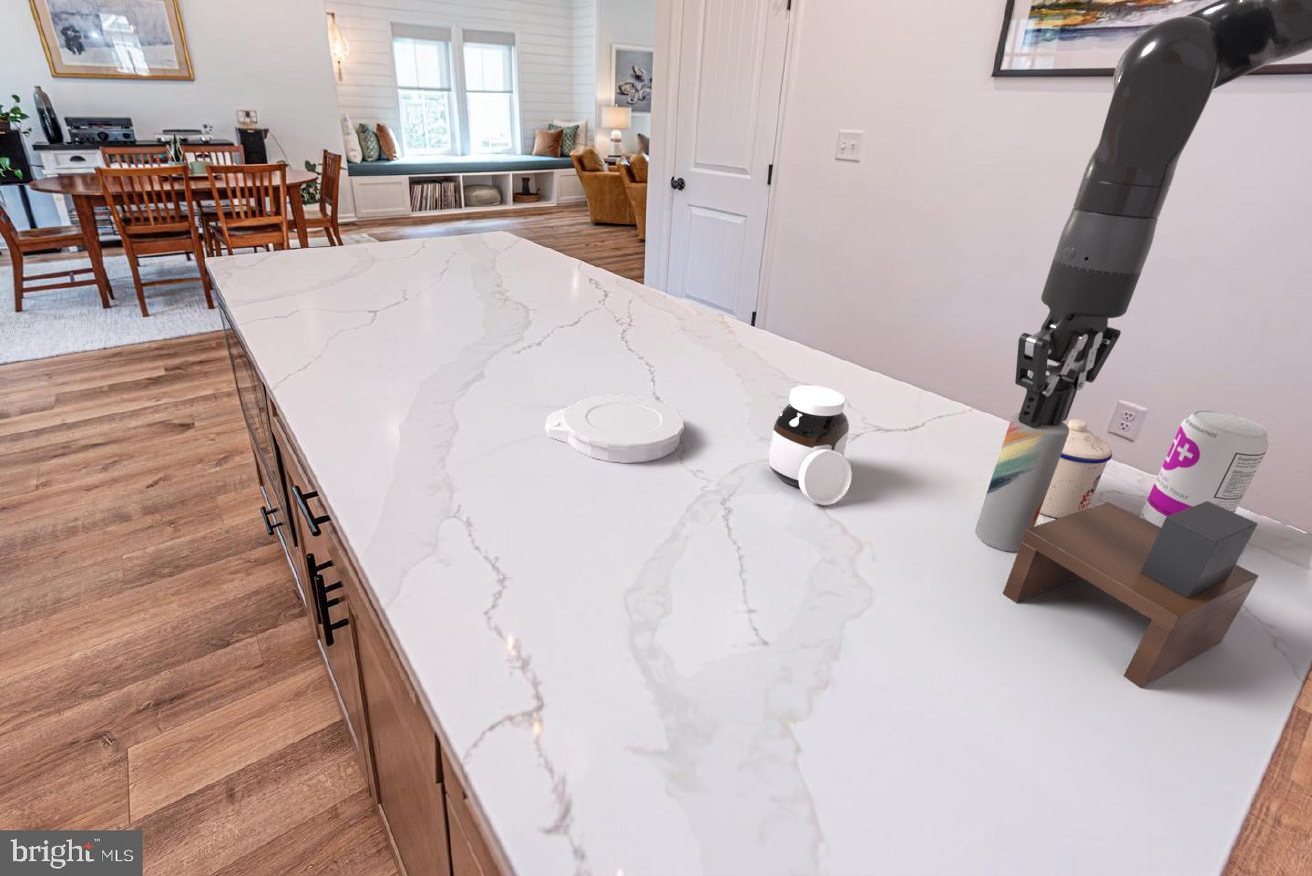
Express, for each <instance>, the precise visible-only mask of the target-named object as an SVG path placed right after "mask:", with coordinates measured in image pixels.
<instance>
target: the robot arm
mask: <svg viewBox="0 0 1312 876" xmlns="http://www.w3.org/2000/svg"><path fill="white" fill-rule="evenodd" d="M1310 51H1312V0H1217V1H1214V2H1212V3H1211V4H1209V5H1206V6H1204V7H1202V8H1200V9H1198V10H1195V11H1193V12H1191V13H1189V14H1187V15H1185V16H1184V15H1183V16H1177V17H1171V18H1169V19H1166V20H1163V21H1161V22H1159V23H1157V24H1154V25H1153V26H1151V27H1150V28H1149V29H1147V30H1146V31H1144V32H1143V33H1141V34H1140V35H1139V36H1138V37H1137V38H1136V39H1135V40H1134V41H1133V42H1132V43H1131V44H1130V45H1129V46H1128V48H1127V49H1125V51H1124V52H1123V53H1122V55H1121V57H1120V59H1119V60H1118V62H1117V64H1116V67H1115V70H1114V73H1113V78H1112V87H1113V89H1112V90H1113V94H1112V97H1111V101H1110V104H1109V107H1108V111H1107V114H1106V117H1105V120H1104V124H1103V127H1102V132H1101V135H1100V138H1099V141H1098V144H1097V146H1096V148H1095V149H1094V151H1093V152H1092V153H1091V156H1090V158H1089V160H1088V162H1087V163H1086V164H1087V165H1086V166H1085V170H1084V172H1083V174H1082V179H1081V181H1080V184H1079V187H1078V190H1077V193H1076V197H1075V200H1074V203H1073V206H1072V207H1073V208H1072V209H1071V210H1070V211H1071V212H1070V214H1069V216H1068V218H1067V220H1066V222H1065V224H1064V227H1063V229H1062V231H1061V234H1060V237H1059V240H1058V243H1057V246H1056V249H1055V253H1054V256H1053V259H1052V262H1051V264H1050V268H1049V271H1048V275H1047V278H1046V281H1045V284H1044V286H1043V290H1042V293H1041V297H1040V299H1041V302H1042V303H1043V304H1044V305H1045V306H1047V307H1048V309H1049V312H1048V314H1047V316H1046V318H1045V319H1044V321H1043V323H1042V324H1041V327H1040V331H1038V332H1036V333H1035V334H1030V333H1028V332H1023V333H1022V334H1021V335H1020V336H1019V338H1018V345H1017V356H1016V368H1015V369H1016V370H1015V381H1014V383H1015V385H1017V386H1020V387H1022V388H1024V389H1026V393H1025V397H1024V399H1023V402H1022V406H1021V409H1020V410H1019V413H1020V414H1019V418H1018V419H1019V422H1020V423H1022V424H1025V425H1027V426H1029V427H1031V428H1036V427H1039V426H1041V424H1042V421H1043V418H1044V415H1045V412H1046V409H1047V407H1048V404H1049V401H1050V398H1051V396H1050V395H1051V394H1052V392H1053V390H1054V388H1055V386H1056V384H1057V382H1058V380H1059V378H1063V379H1065V380H1067V381H1068V382H1069V383H1070V384H1073V385H1074V386H1075V389H1074V392H1073V395H1072V397H1071V400H1070V403H1069V406H1068V409H1067V412H1066V415H1065V418H1064V420H1063V422H1065V421H1067V419H1068V417H1069V414H1070V412H1071V408H1072V406H1073V403H1074V400H1075V397H1076V394H1077V391H1081V390H1082V389H1083V388H1084V386H1085V383H1086V382H1087V383H1090V384H1091V383H1093V382H1094V381H1095V380H1096V379H1097V377H1098V376H1099V374H1100V371H1101V370H1102V368H1103V367H1104V365H1105V363H1106V361H1107V360H1108V358H1109V356H1110V354H1111V353H1112V351H1113V348H1114V347H1115V345H1116V344H1117V341H1118V340H1119V338H1120V336H1121V334H1122V331H1121V330H1120V329H1118V328H1114V327H1111V326H1108V324H1109V319H1115V318H1121V317H1122V316H1124V315H1125V314H1126V313H1127V311H1128V308H1129V305H1130V303H1131V302H1132V301H1131V300H1132V299H1133V296H1134V293H1135V291H1136V288H1137V284H1138V282H1139V280H1140V277H1141V274H1142V272H1143V269H1144V266H1145V263H1146V261H1147V258H1148V257H1149V253H1150V250H1151V249H1152V245H1153V241H1154V237H1155V233H1156V228H1157V224H1158V221H1159V217H1160V215H1161V213H1162V209H1163V207H1164V205H1165V201H1166V199H1167V196H1168V194H1169V190H1170V187H1171V186H1172V183H1173V180H1174V176H1175V173H1176V169H1177V166H1178V163H1179V160H1180V158H1181V155H1182V153H1183V151H1184V149H1185V147H1186V146H1187V144H1188V142H1189V140H1190V138H1191V136H1192V134H1193V132H1194V130H1195V128H1196V126H1197V124H1198V122H1199V120H1200V119H1201V116H1202V114H1203V112H1204V110H1205V108H1206V106H1207V103H1208V101H1209V99H1210V97H1211V95H1212V92H1213V90H1215V89H1218V88H1219V87H1222V86H1224V85H1226V84H1228V83H1230V82H1233V81H1234V80H1236V79H1238V78H1241V77H1243V76H1245V75H1247V74H1249V73H1251V72H1253V71H1255V70H1257V69H1260V68H1263V67H1265V66H1268V65H1270V64H1271V65H1272V64H1274V63H1277V62H1280V61H1285V60H1288V59H1290V58H1293V57H1296V56H1299V55H1303V54H1304V53H1306V52H1310ZM1048 360H1049V361H1052V362H1054V363H1056V364H1057V365H1055V364H1052V363H1049V362H1048ZM1047 372H1048V373H1049V374H1048V375H1049V377H1048V379H1047V381H1046V383H1045V378H1046V375H1047Z"/></svg>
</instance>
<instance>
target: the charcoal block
mask: <svg viewBox="0 0 1312 876" xmlns="http://www.w3.org/2000/svg"><path fill="white" fill-rule="evenodd" d="M1257 526H1258V522H1257V521H1254V520H1251V519H1249V518H1247V517H1245V516H1242V515H1240V514H1238V513H1236V512H1235V513H1233V512H1231V511H1229V510H1227V509H1224V508H1222V507H1220V506H1218V505H1215V504H1213V503H1211V502H1208V501H1206V502H1204V503H1201V504H1198V505H1196V506H1193V507H1191V508H1188V509H1185V510H1183V511H1180V512H1178V513H1175V514H1172V515H1170V516H1167V517H1166V519H1165V521H1164V523H1163V525H1162V527H1161V529H1160V531H1159V534H1158V536H1157V538H1156V540H1155V542H1154V544H1153V546H1152V548H1151V551H1150V553H1149V555H1148V557H1147V559H1146V561H1145V563H1144V565H1143V568H1142V570H1141V573H1142V574H1144V575H1146V576H1148V577H1149V578H1151V579H1153V580H1155V581H1157V582H1158V583H1160V584H1162V585H1164V586H1166V587H1168V588H1169V589H1171V590H1173V591H1175V592H1177V593H1178V594H1180V595H1182V596H1184V597H1186V598H1190V597H1192V596H1194V595H1196V594H1198V593H1200V592H1202V591H1204V590H1206V589H1208V588H1210V587H1212V586H1214V585H1216V584H1218V583H1220V582H1222V581H1224V580H1226V579H1228V578H1229V576H1230V574H1231V572H1232V570H1233V568H1234V567H1235V565H1237V563H1238V562H1239V559H1240V557H1241V555H1242V553H1243V552H1244V550H1245V548H1246V546H1247V545H1248V543H1249V540H1250V539H1251V537H1252V535H1253V534H1254V532H1255V530H1256V528H1257Z"/></svg>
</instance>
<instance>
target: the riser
mask: <svg viewBox="0 0 1312 876" xmlns="http://www.w3.org/2000/svg"><path fill="white" fill-rule="evenodd" d="M1160 529H1161V527H1159V526H1157V525H1155V524H1153V523H1151V522H1149V521H1147V520H1144V519H1142V518H1141V517H1140V516H1138V515H1136V514H1134V513H1132V512H1130V511H1128V510H1127V509H1124V508H1122V507H1121V506H1118V505H1116V504H1114V503H1112V502H1110V501H1105V502H1102V503H1100V504H1097V505H1094V506H1091V507H1088V509H1085V510H1082V511H1079V512H1076V513H1073V514H1070V515H1067V516H1064V517H1061V518H1055V519H1053V520H1049V521H1046V522H1044V523H1041V524H1038V525H1035V526H1034V527H1032V528H1029V529H1026V532H1025V534H1024V537H1023V540H1022V543H1021V545H1020V548H1019V551H1017V554H1016V557H1015V559H1014V561H1013V563H1012V564H1013V565H1012V567H1011V570H1010V573H1009V575H1008V579H1007V580H1006V583H1005V587H1004V589H1003V591H1002V595H1004V597H1005V596H1006V597H1007V598H1008V599H1010V600H1011V601H1012V602H1014V603H1019V602H1021V601H1024V600H1026V599H1029V598H1031V597H1034V596H1036V595H1039V594H1041V593H1044V592H1046V591H1049V590H1050V589H1053V588H1055V587H1056V588H1057V587H1058V586H1061V585H1063V584H1066V583H1067V582H1070V581H1072V580H1075V579H1077V578H1082V579H1083V580H1085V581H1087V582H1089V583H1090V584H1091V585H1094V586H1095V587H1096V588H1099V589H1100V590H1101V591H1104V592H1105V593H1107V594H1109V595H1110V596H1112V597H1114V598H1115V599H1117V600H1118V601H1119V602H1122V603H1123V604H1125V605H1126V606H1129V607H1130V608H1132V609H1133V610H1135V611H1137V612H1138V613H1140V614H1142V615H1143V616H1144V617H1145V616H1146V618H1149V619H1150V621H1149V624H1148V626H1147V628H1146V630H1145V632H1144V634H1143V636H1142V638H1141V640H1140V642H1139V644H1138V646H1137V648H1136V650H1135V652H1134V654H1133V656H1132V657H1131V660H1130V662H1129V664H1128V666H1127V668H1126V670H1125V672H1124V674H1123V677H1124V678H1126V679H1127V680H1129V681H1130V682H1131V683H1133V684H1134V685H1136V686H1138V687H1139V688H1141V689H1142V688H1145V687H1146V686H1148V685H1149V684H1151V683H1153V682H1155V681H1156V680H1159V679H1160V678H1161V677H1163V676H1165V675H1167V674H1168V673H1170V672H1172V671H1173V670H1175V669H1177V668H1179V667H1180V666H1182V665H1184V664H1186V663H1188V662H1189V661H1191V660H1193V659H1195V658H1196V657H1198V656H1200V655H1202V654H1204V653H1205V652H1207V651H1209V650H1210V649H1212V648H1214V647H1215V646H1218V645H1219V644H1220V643H1222V642H1223V640H1224V638H1225V637H1226V635H1227V633H1228V631H1229V629H1231V626H1232V624H1233V622H1234V621H1235V619H1236V618H1237V615H1238V613H1239V612H1240V610H1241V609H1242V606H1244V603H1245V601H1246V599H1247V598H1248V596H1249V594H1250V593H1251V591H1252V589H1253V588H1254V586H1255V584H1256V582H1257V580H1258V578H1259V576H1260V575H1258V574H1256V573H1254V572H1252V571H1250V570H1248V569H1246V568H1244V567H1242V566H1240V565H1238V564H1236V565H1235V567H1234V568H1233V570H1232V572H1231V574H1230V576H1229V578H1228V579H1226V580H1224V581H1222V582H1220V583H1218V584H1216V585H1214V586H1212V587H1210V588H1208V589H1206V590H1204V591H1202V592H1200V593H1198V594H1196V595H1194V596H1192V597H1190V598H1186V597H1184V596H1182V595H1180V594H1178V593H1177V592H1175V591H1173V590H1171V589H1169V588H1168V587H1166V586H1164V585H1162V584H1160V583H1158V582H1157V581H1155V580H1153V579H1151V578H1149V577H1148V576H1146V575H1144V574H1142V573H1141V570H1142V568H1143V565H1144V563H1145V561H1146V559H1147V557H1148V555H1149V553H1150V551H1151V548H1152V546H1153V544H1154V542H1155V540H1156V538H1157V536H1158V534H1159V531H1160Z"/></svg>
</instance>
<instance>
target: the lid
mask: <svg viewBox="0 0 1312 876" xmlns="http://www.w3.org/2000/svg"><path fill="white" fill-rule="evenodd" d="M684 428H685V419H684V417H683V415H682V414H681V413H680V412H679V410H677V409H675V407H673V406H672V405H670V404H668V403H665V402H663V401H660V400H658V399H655V398H650V397H645V396H641V395H635V394H621V393H620V394H618V393H616V394H600V395H595V396H589V397H586V398H584V399H583V398H582V399H581V400H578V401H576V402H573V404H571V405H570V406H566V407H564V408H560V409H558V410H555V411H553V412H552V413H550V414H549V415H548V416H547V417H546V420H545V429H544V430H545V432H546V434H547V436H548V438H550V439H553V440H556V441H559V442H562V443H566V444H569V445H570V446H571V447H572V448H573V449H575V450H576V452H578V453H581V454H582V455H585V456H587V457H589V458H591V459H596V460H600V461H604V462H608V463H618V464H619V463H620V464H633V463H634V464H635V463H646V462H651V461H655V460H658V459H659V460H660V459H662V458H664V457H666V456H667V455H670V454H672V453H673V452H674V451H675V450H676V449H677V447H679V445H680V442H681V441H680V439H681V435H682V433H683V432H684V431H685V430H684Z"/></svg>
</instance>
